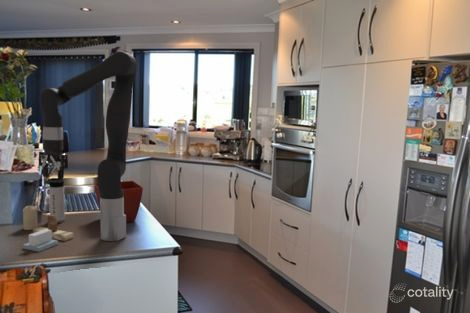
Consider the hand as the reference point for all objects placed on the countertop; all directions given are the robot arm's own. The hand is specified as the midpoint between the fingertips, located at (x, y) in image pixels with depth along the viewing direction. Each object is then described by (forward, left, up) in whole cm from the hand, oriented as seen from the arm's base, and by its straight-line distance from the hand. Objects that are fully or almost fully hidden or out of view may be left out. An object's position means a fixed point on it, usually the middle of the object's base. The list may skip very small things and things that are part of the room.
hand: (53, 177), depth 161 cm
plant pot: (-8, -31, -25) cm, 40 cm away
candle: (+17, -3, -25) cm, 30 cm away
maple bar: (0, +1, -25) cm, 25 cm away
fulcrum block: (-5, +12, -24) cm, 28 cm away
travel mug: (+15, -16, -25) cm, 33 cm away
